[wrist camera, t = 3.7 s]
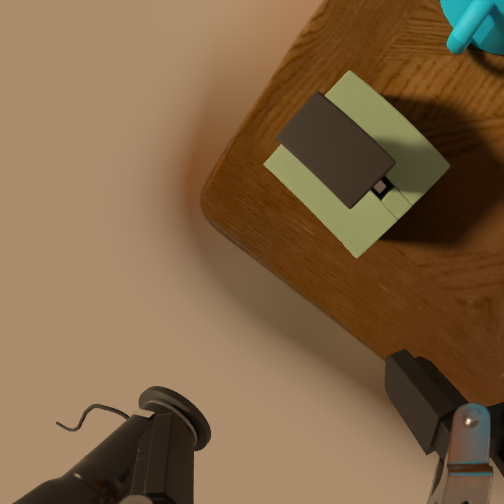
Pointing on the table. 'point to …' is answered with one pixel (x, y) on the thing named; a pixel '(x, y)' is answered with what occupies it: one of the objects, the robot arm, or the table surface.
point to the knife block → (400, 176)
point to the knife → (336, 150)
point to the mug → (475, 24)
